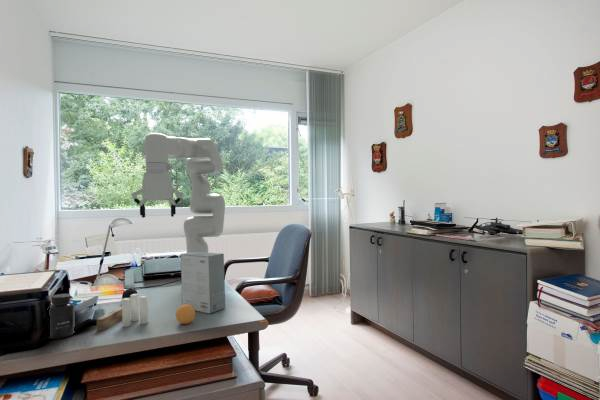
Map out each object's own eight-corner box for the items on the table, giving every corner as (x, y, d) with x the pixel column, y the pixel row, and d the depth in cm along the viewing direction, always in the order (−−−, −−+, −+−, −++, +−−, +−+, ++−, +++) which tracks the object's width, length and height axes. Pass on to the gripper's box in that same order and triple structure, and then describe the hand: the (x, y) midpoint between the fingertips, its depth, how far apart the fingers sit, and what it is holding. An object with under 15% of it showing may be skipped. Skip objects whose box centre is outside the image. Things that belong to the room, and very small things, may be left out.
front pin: (142, 321, 122) (141, 295, 122) (149, 321, 122) (148, 295, 122) (138, 324, 120) (137, 297, 119) (145, 324, 119) (145, 298, 119)
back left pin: (125, 324, 120) (124, 298, 120) (132, 324, 120) (131, 298, 119) (120, 326, 117) (120, 300, 117) (128, 326, 117) (127, 300, 117)
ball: (180, 320, 123) (180, 302, 123) (198, 320, 122) (197, 302, 122) (172, 326, 117) (172, 307, 117) (191, 326, 116) (190, 307, 116)
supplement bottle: (61, 340, 107) (60, 299, 107) (42, 339, 109) (40, 298, 109) (80, 331, 114) (79, 292, 114) (61, 330, 115) (60, 292, 115)
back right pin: (133, 319, 125) (132, 293, 125) (140, 319, 125) (139, 293, 124) (129, 321, 122) (128, 295, 122) (136, 321, 122) (135, 295, 122)
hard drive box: (226, 308, 134) (224, 253, 134) (210, 314, 128) (208, 256, 127) (197, 302, 143) (196, 250, 143) (181, 307, 137) (179, 253, 136)
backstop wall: (122, 315, 129) (122, 305, 129) (128, 315, 128) (127, 305, 128) (96, 330, 115) (96, 319, 115) (103, 330, 114) (102, 319, 114)
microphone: (122, 301, 159) (126, 306, 141) (116, 288, 158) (120, 293, 141) (135, 295, 161) (140, 300, 144) (130, 282, 161) (135, 286, 144)
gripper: (183, 169, 138) (184, 215, 138) (132, 169, 133) (133, 217, 133) (182, 168, 131) (183, 216, 131) (128, 167, 126) (129, 218, 126)
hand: (158, 216), depth 132 cm, fingers open, 9 cm apart
